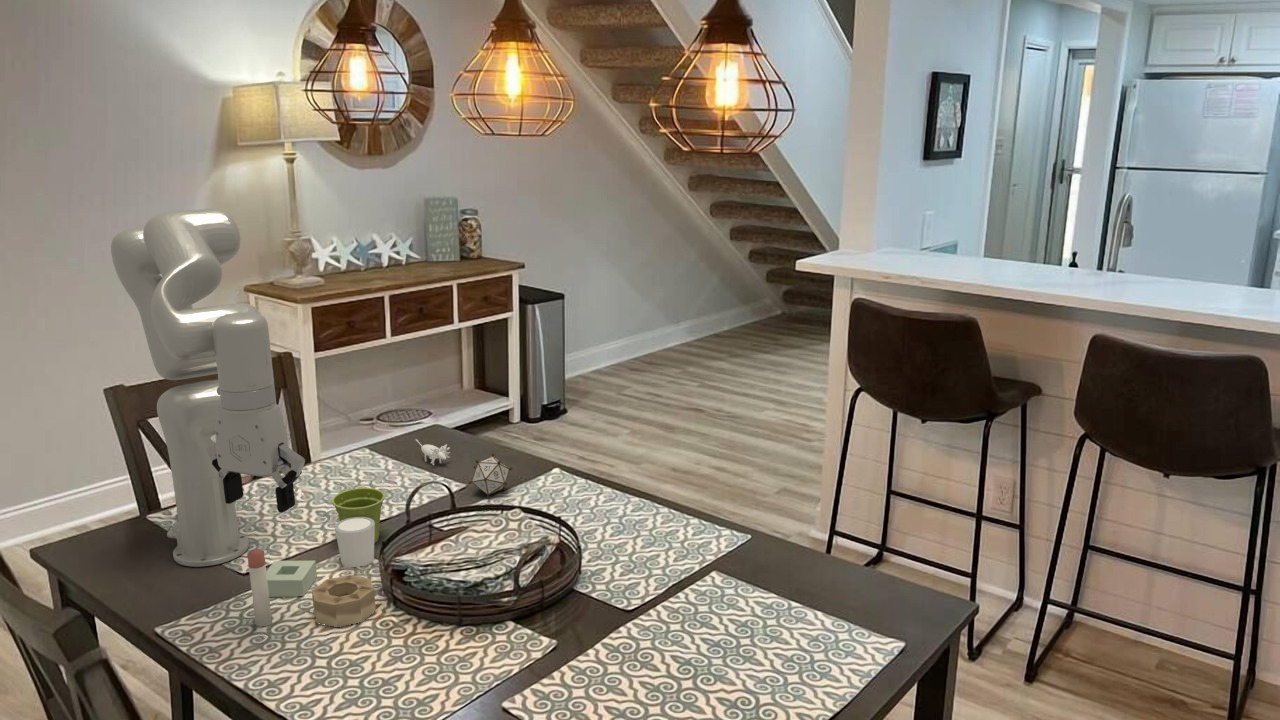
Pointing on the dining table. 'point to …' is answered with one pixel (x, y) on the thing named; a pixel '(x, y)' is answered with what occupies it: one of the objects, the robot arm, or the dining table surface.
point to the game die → (490, 475)
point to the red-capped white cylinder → (259, 587)
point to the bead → (343, 600)
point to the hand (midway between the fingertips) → (260, 504)
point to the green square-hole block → (290, 578)
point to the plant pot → (360, 505)
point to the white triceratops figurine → (434, 452)
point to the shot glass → (356, 541)
